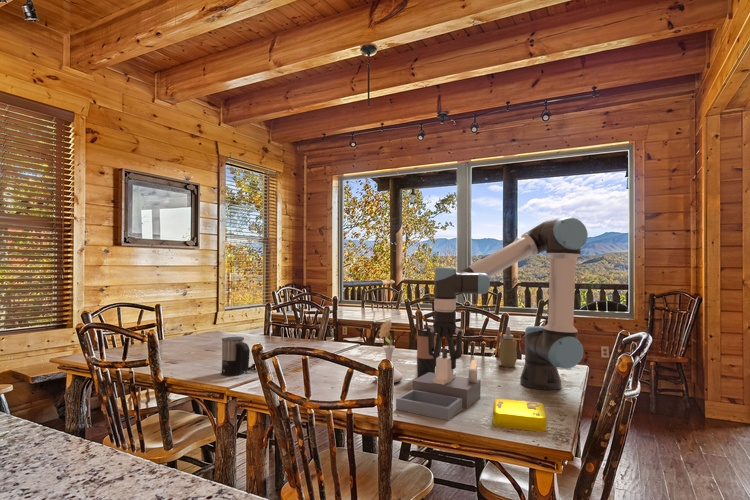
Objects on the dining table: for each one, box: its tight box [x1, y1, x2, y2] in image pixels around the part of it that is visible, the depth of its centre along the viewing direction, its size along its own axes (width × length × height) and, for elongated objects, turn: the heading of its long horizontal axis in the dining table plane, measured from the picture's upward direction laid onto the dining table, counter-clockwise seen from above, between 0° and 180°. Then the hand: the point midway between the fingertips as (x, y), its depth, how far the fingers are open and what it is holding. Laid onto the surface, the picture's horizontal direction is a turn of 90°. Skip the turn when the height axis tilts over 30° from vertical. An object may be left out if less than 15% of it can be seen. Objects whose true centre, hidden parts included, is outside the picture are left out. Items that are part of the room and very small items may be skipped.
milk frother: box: [220, 336, 256, 377], centre depth 187 cm, size 14×16×15 cm
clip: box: [467, 359, 478, 383], centre depth 161 cm, size 18×3×4 cm, turn 165°
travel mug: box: [416, 327, 437, 378], centre depth 181 cm, size 8×8×20 cm
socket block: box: [411, 372, 482, 409], centre depth 155 cm, size 20×14×6 cm
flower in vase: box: [373, 319, 403, 384], centre depth 175 cm, size 13×11×25 cm
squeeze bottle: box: [498, 326, 518, 368], centre depth 205 cm, size 8×8×18 cm
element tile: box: [492, 398, 548, 433], centre depth 134 cm, size 15×15×5 cm
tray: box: [395, 389, 463, 421], centre depth 142 cm, size 18×12×4 cm, turn 59°
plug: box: [433, 347, 457, 385], centre depth 155 cm, size 4×11×14 cm, turn 149°
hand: (444, 376), depth 155 cm, fingers closed on plug, 4 cm apart
